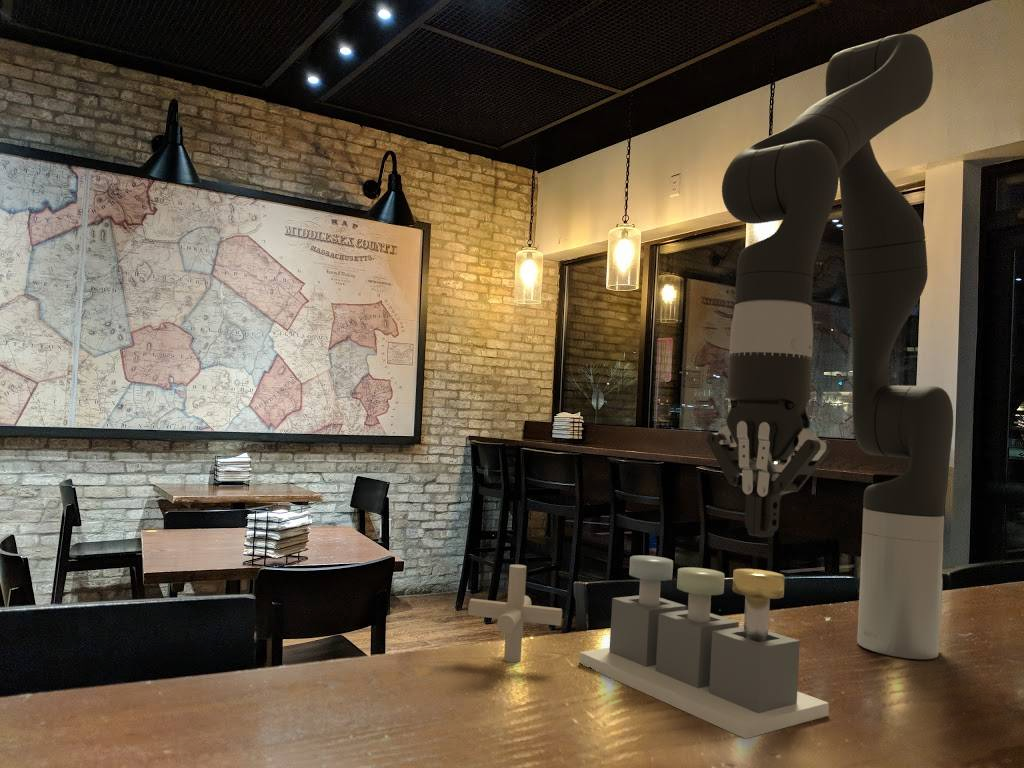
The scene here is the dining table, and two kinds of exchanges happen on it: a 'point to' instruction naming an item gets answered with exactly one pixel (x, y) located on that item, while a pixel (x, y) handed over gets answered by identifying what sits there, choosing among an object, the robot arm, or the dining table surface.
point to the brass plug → (757, 599)
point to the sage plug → (700, 590)
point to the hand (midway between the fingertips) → (760, 535)
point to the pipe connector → (515, 613)
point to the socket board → (706, 667)
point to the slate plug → (650, 576)
